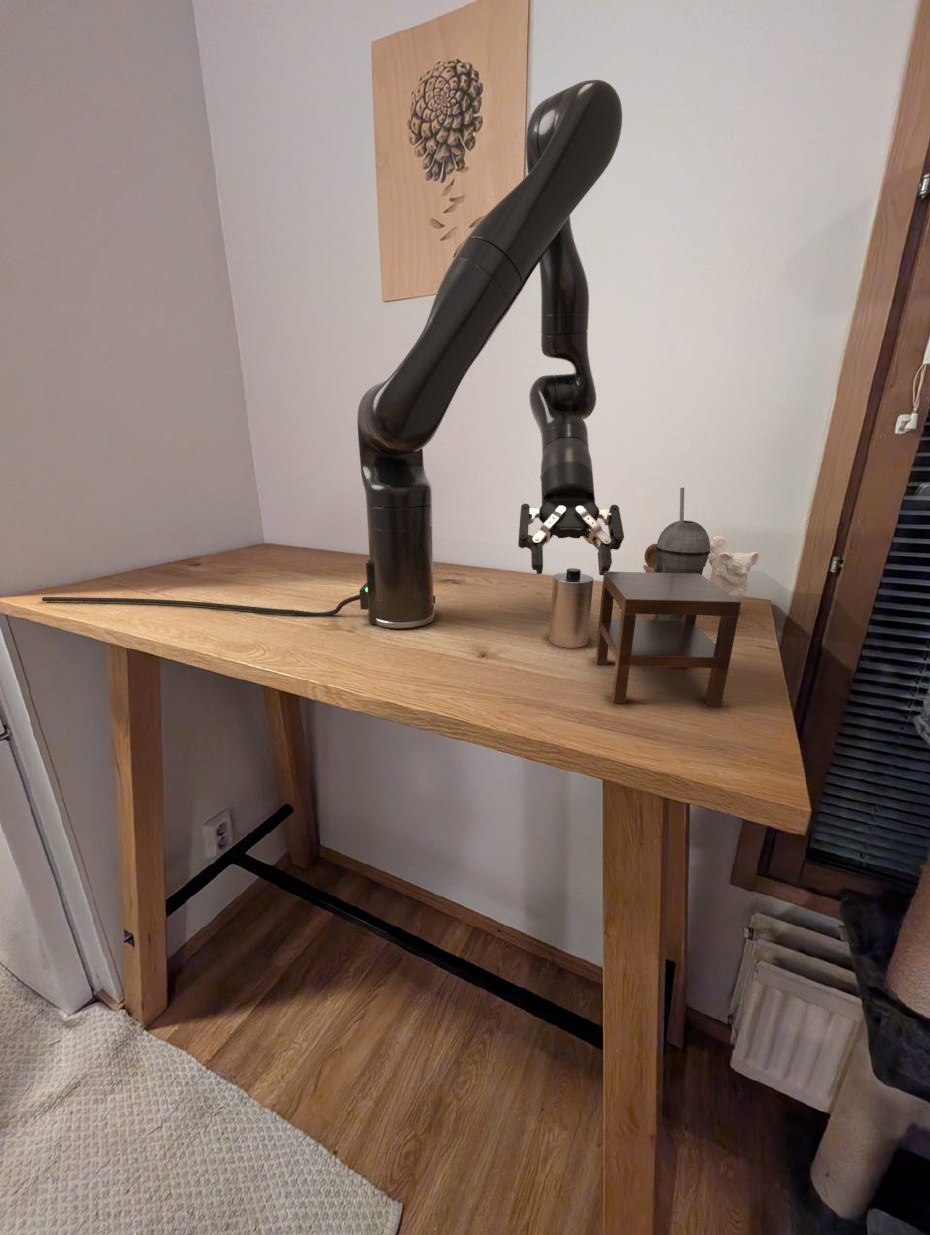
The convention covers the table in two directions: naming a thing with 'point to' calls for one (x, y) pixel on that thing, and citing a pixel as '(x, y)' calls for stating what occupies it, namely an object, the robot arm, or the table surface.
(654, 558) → the snail figurine
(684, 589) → the stand
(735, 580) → the koala figurine
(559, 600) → the silver metal canister
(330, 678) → the table surface
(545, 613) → the table surface
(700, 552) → the beverage cup
